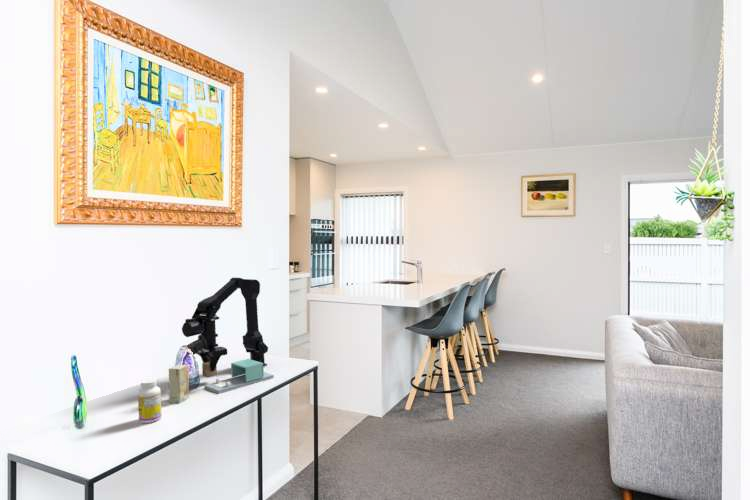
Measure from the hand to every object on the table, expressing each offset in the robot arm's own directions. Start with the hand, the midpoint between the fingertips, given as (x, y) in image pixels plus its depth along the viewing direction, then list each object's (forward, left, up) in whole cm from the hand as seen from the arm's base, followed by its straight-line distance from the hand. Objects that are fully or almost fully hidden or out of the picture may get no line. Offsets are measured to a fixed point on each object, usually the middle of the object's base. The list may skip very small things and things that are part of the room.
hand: (209, 370), depth 191 cm
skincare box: (+10, -17, -5) cm, 21 cm away
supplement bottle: (+21, -32, -5) cm, 39 cm away
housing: (+10, +11, -4) cm, 15 cm away
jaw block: (0, 0, -2) cm, 2 cm away
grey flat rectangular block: (+10, +8, -5) cm, 14 cm away
